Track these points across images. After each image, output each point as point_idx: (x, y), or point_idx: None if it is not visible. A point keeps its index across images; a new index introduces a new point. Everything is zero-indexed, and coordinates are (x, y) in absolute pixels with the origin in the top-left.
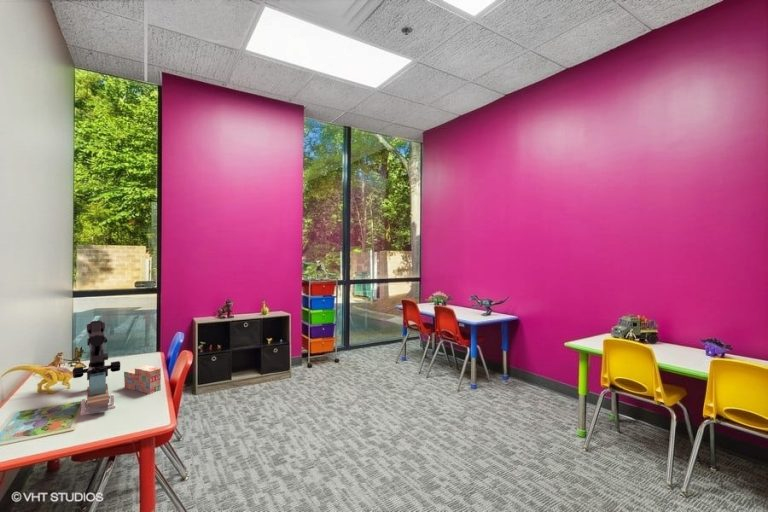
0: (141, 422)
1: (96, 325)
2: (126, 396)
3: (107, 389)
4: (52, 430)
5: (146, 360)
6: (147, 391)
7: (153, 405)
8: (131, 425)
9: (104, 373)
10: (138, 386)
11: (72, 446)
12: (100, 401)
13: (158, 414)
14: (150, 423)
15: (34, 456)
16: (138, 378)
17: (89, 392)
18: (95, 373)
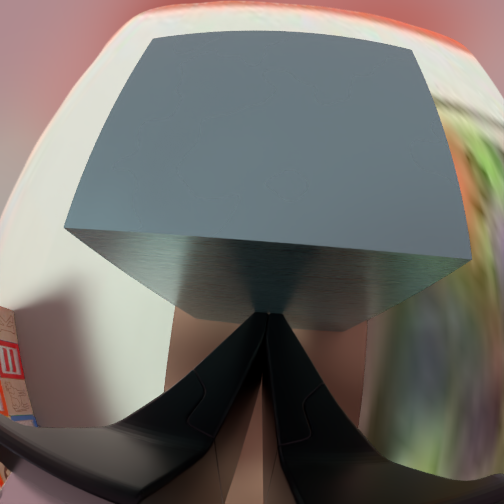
0: (174, 35)
1: None
2: (93, 383)
3: (177, 318)
4: (447, 132)
5: None
6: (7, 326)
7: (73, 137)
8: (203, 30)
9: (135, 94)
10: (13, 418)
11: (354, 16)
12: None
13: (113, 61)
14: (161, 25)
15: (423, 30)
16: None
17: (346, 348)
18: (326, 231)
